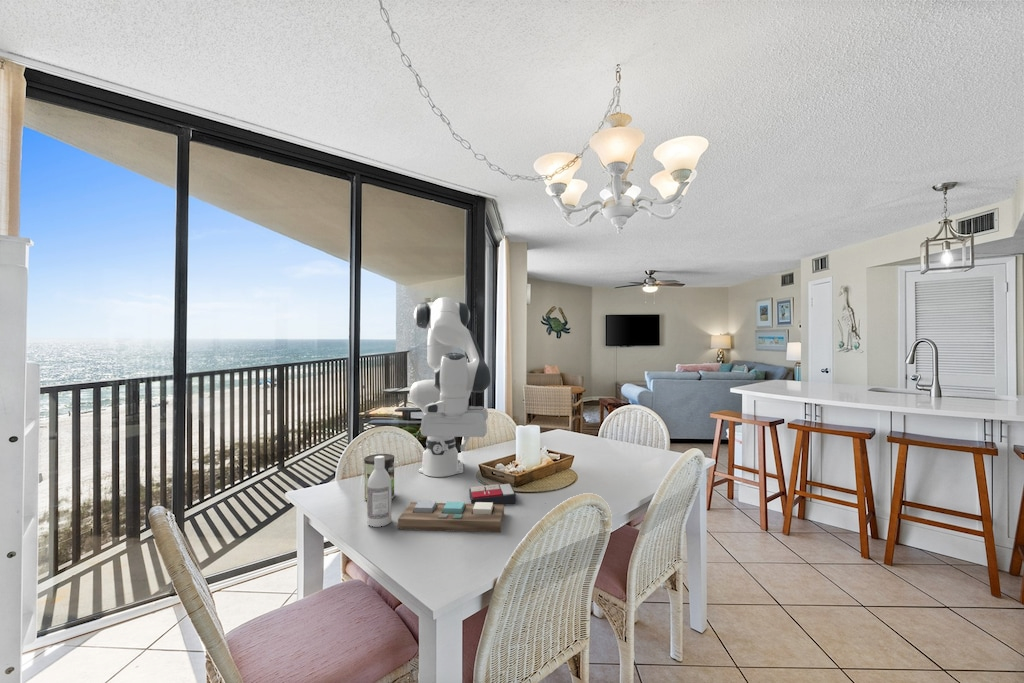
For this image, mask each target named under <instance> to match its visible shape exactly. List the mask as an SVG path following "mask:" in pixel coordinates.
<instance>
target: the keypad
mask: <svg viewBox="0 0 1024 683" xmlns="http://www.w3.org/2000/svg"><path fill="white" fill-rule="evenodd" d="M417 503H418V501H417V502H415V501H414V502H413V501H412V502H410V503H409V504H408V506H407V507H406V508H405V509H404V511H402V513H401V514H400V516H399V517H398V518H397V529H398V530H409V529H420V531H446V530H450V531H451V530H452V531H453V530H454V531H453V532H482V531H487V533H491V532H492V533H494V532H495V533H501V531H502V526H503V520H504V515H505V505H502V504H493V511H492V514H491V515H483V514H473V507H474V505H475V504H471V503H465V508H464V511H463V513H462V514H443V508H444V506H445V504H446V503H447V502H436V509H435V510H434V512H433V513H414V507H415V506H416V504H417ZM452 531H451V532H452ZM488 531H490V532H488Z"/></svg>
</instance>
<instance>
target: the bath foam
mask: <svg viewBox="0 0 1024 683" xmlns="http://www.w3.org/2000/svg"><path fill="white" fill-rule="evenodd" d="M384 467H385V457H384V456H376V457H375V458H374V468H375V469H374V471H373V472H372V474H371V475H370V477H369V480H368V485H367V501H366V502H367V512H366V513H367V518H366V519H367V524H368V526H369V525H370V526H369V527H372V526H373V528H382V527H385V526H387V525H389V524H390V523H391V522H392V499H391V478H390V476H389V474H388V472H387V471H386V470H385V468H384ZM381 526H382V527H381Z"/></svg>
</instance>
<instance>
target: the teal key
mask: <svg viewBox="0 0 1024 683" xmlns="http://www.w3.org/2000/svg"><path fill="white" fill-rule="evenodd" d="M445 503H446V504H445V506H444V508H443V514H462V513H463V511H464V508H465V504H466V502H465V501H446V502H445Z"/></svg>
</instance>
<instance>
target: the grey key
mask: <svg viewBox="0 0 1024 683" xmlns="http://www.w3.org/2000/svg"><path fill="white" fill-rule="evenodd" d="M436 503H437V501H436V500H418V501H417V504H416V506H415V507H414V513H433V512H434V510H435V509H436Z"/></svg>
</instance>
